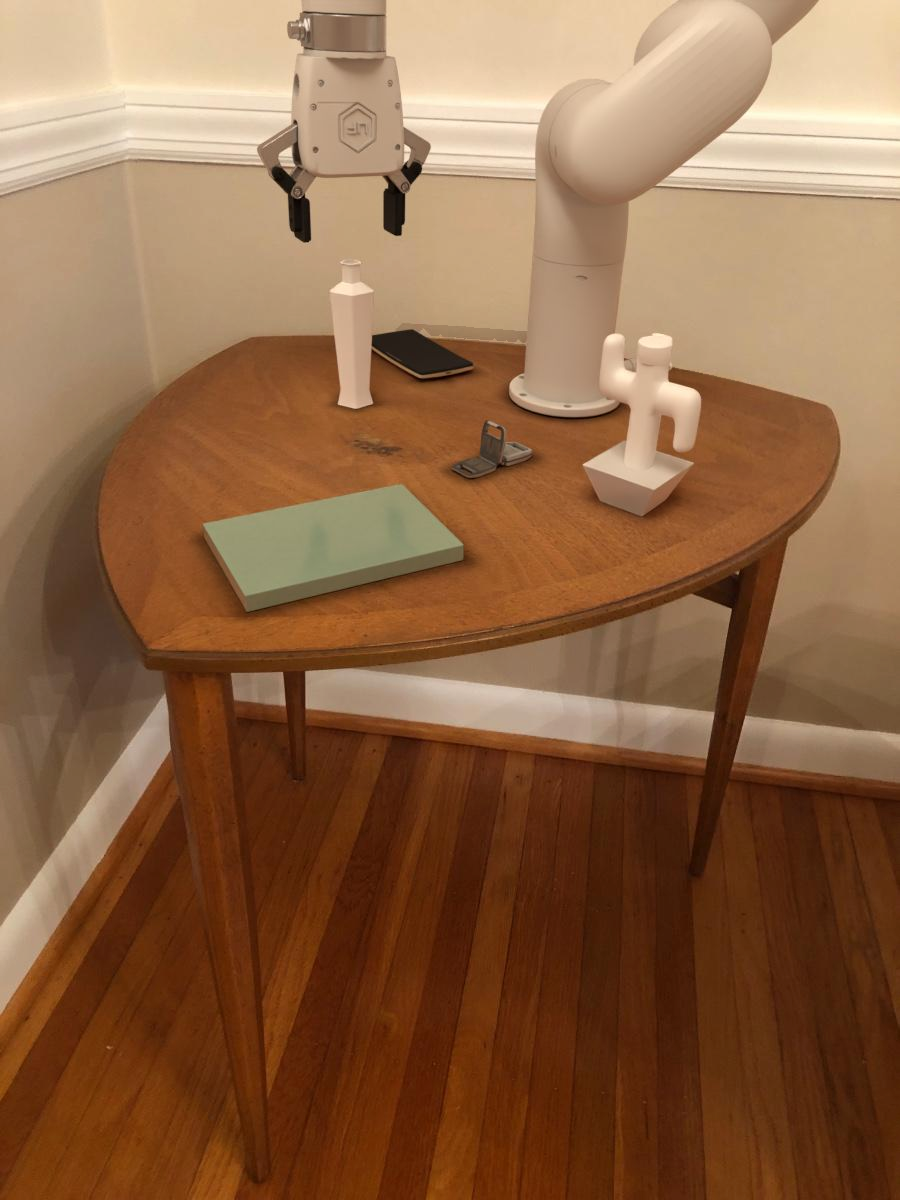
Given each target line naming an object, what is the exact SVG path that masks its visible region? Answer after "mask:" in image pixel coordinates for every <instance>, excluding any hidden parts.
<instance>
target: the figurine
mask: <svg viewBox="0 0 900 1200" xmlns="http://www.w3.org/2000/svg"><path fill="white" fill-rule="evenodd" d="M673 345H674V340H673V337H672V336H670V335H668V334H666V333H665V334H664V333H659V332H653V333H652V334H651V335H646V336H642V337H640V338H639V339H638V341H637V349H636V350H637V352H636V358H637V369H636V372H632V371H628V370H626V369H625V366H624V360H625V351H626V338H625V336H624V335H623V334H621V333H615V334H611V335H609V336H607V337H606V339H605V341H604V344H603V352H602V360H601V368H600V378H599V386H600V391H601V393H602V395H603V396H605V397H606V398H608V399H611V400H615V401H618V402H620V404H621V403H622V404H624V405H628V406H629V409H630V412H629V420H628V427H627V435H626V439H625V440H622V441H620V442H619V443H617V444H615V445H613V446H611V447H610V448H608V449H607V450H605V451H602V452H601V453H600V454H598V455H596V456H595V457H593V458H591V459H590V460H588V461H586V462H584V463H583V464H581V466H582V467H583V470H584V472H585V474H586V475H587V478H588V480H589V482H590V483H591V486H592V488H593V490H594V492H595V494H596V497H597V498H598V500H599V502H601V503H604V504H607V505H609V506H612V507H615V508H617V509H620V510H623V511H626V512H628V513H631V514H634V515H637V516H639V517H644V516H645V515H646V514H648V513H649V512H651V511H652V510H653V509H655V508H656V507H658V506H659V505H661V504H662V503H663V502H665V501H666V500H667V499H668V498H669V497H670V495H671V494H672V492H673V491H674V489H675V488H677V486H678V485H679V484H680V482H681V481H682V480H683V478H684V477H685V476H686V474H688V472H689V470H690V469H691V468H692V467H693V466H694V464H695V462H693V461H690V460H686V459H683V458H680V457H678V456H674V455H671V454H668V453H664V452H662V451H658V450H657V446H658V440H659V434H660V427H661V421H662V416H664V417H669V418H672V420H673V421H674V434H673V440H672V447H673V449H674V451H676V452H677V453H687V452H689V451H691V450H692V449H693V448H694V446H695V444H696V438H697V434H698V429H699V423H700V417H701V412H702V411H701V410H702V397H701V395H700V393H699V391H698V390H696V389H695V388H692V387H689V386H685V385H682V384H679V383H675V382H671V381H669V371H671V370H672V369H673V362H672V355H673V354H672V353H673V347H674V346H673Z"/></svg>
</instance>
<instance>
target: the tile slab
mask: <svg viewBox="0 0 900 1200" xmlns="http://www.w3.org/2000/svg"><path fill="white" fill-rule="evenodd" d="M202 531H203V537H204V540H205V543H206V544H207V545H208V547H209V550H210V551H211V552H212V554H213V556H214V557H215V560H216V561H217V563H218V565H219V566H220V568H221V570H222V572H223V573H224V575H225V577H226V579H227V580H228V582H229V584H230V586H231V587H232V589H233V591H234V592H235V594H236V596H237V598H238V599H239V602H240V603H241V604H242V606H243V608H244V610H245V612H246V613H250V612H253V611H259V610H262V609H266V608H271V607H275V606H279V605H283V604H287V603H291V602H296V601H299V600H305V599H308V598H312V597H316V596H317V597H318V596H320V595H325V594H328V593H333V592H337V591H341V590H346V589H350V588H353V587H358V586H362V585H366V584H370V583H374V582H379V581H383V580H387V579H391V578H394V577H399V576H403V575H408V574H411V573H416V572H421V571H424V570H429V569H433V568H437V567H441V566H444V565H445V566H446V565H449V564H453V563H458V562H462V561H464V555H465V554H464V553H465V552H464V551H465V544H464V543H463V542H462V541H461V540H460V539H459V538H458V537H457V536H456V535H455V534H454V533H453V532H452V531H451V530H450V529H449V528H448V527H446V525H445V524H444V523H443V522H442V521H441V520H440V519H439V518H437V516H435V515H434V514H433V512H431V510H430V509H429V508H428V507H426V505H424V504H423V503H422V502H421V501H420V500H419V499H418V497H416V496H415V495H414V494H413V493H412V492H411V491H410V490H409V489H408V488H407V487H406V486H405V485H404V484H403V483H399V484H394V485H388V486H383V487H378V488H373V489H369V490H364V491H359V492H353V493H349V494H345V495H344V494H343V495H338V496H333V497H328V498H323V499H319V500H313V501H309V502H304V503H298V504H293V505H289V506H284V507H278V508H273V509H268V510H263V511H258V512H252V513H249V514H243V515H238V516H233V517H227V518H223V519H218V520H213V521H208V522H204V523H202Z"/></svg>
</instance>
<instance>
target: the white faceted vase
mask: <svg viewBox="0 0 900 1200" xmlns="http://www.w3.org/2000/svg"><path fill="white" fill-rule="evenodd" d="M361 264H362V262H361V261H360V260H359V259H342V260H341V261H340V265H341V281H340V282H339V283H337V284H336V285H335V286H334V287H332V288H331V289H329V290H328V291H329V293H328V294H329V302H330V308H331V318H332V327H333V335H334V336H333V337H334V345H335V353H336V361H337V362H336V363H337V370H338V380H339V389H340V390H339V396H338V401H337V405H338V406H342V407H345V408H350V409H355V410H358V409H361V408H365V407H367V406H370V405H374V401H373V397H372V394H371V391H370V384H371V367H372V366H371V365H372V364H371V362H372V349H371V346H372V335H373V324H374V323H373V322H374V305H375V304H374V302H375V290H374V289H373V288H371V287H369V286H368V285H367V284H366V283H365V282H363V281H362V280H361V279H362V278H361Z"/></svg>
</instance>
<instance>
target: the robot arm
mask: <svg viewBox="0 0 900 1200" xmlns="http://www.w3.org/2000/svg"><path fill="white" fill-rule="evenodd" d="M819 1H820V0H676V1H675V2H674V3H672V4H671V5H670V6H668V7H667V8H665V10H663V11H662V12H660V13H659V14H658V15H657V16H656V17H655V18H654V19H653V20H652V21H651V22H650V24H649V25H648V26H647V27H646V29H645V30H644V32H643V33H642V35H641V36H640V38H639V40H638V41H637V42H638V43H637V45H636V48H635V52H634V56H633V66H631V67H630V68H629V69H628V70H627V71H625V72H624V73H623V74H622V75H621V76H620V77H618V78H617V79H615V81H613V82H610V81H607V80H604V79H599V78H583V79H578V80H575V81H573V82H570V83H569V84H567V85H565V86H563V87H562V88H561V89H559V90H558V91H557V92H556V93H555V94H553V96H552V97H551V98H550V100H548V102H547V104H546V106H545V107H544V109H543V111H542V114H541V116H540V119H539V122H538V126H537V130H536V137H535V149H534V155H535V156H534V164H535V166H534V168H535V172H534V173H535V209H534V210H535V213H534V228H533V229H534V231H533V245H532V246H533V247H532V258H531V259H532V260H531V273H530V286H529V287H530V288H529V298H528V299H529V300H528V302H529V303H528V314H527V327H526V328H527V329H526V330H527V331H526V343H525V356H524V357H525V358H524V369H523V371H524V372H523V373H521V374H519V375H516V376H515V377H514V378H512V379H511V381H510V383H509V385H508V386H509V387H508V395H509V399H511V400H512V402H514V403H515V404H516V405H517V406H519V407H521V408H523V409H525V410H527V411H530V412H533V413H536V414H541V415H544V416H545V415H546V416H550V417H558V418H590V417H596V416H600V415H604V414H607V413H609V412H611V411H613V410H615V409H616V408H618V406H619V405H620V404H621V402H618V401H615V400H611V399H608V398H606V397H605V396H603V395H602V393H601V391H600V386H599V378H600V368H601V360H602V352H603V344H604V341H605V339H606V337H607V336H609V335H611V334H616V327H617V318H618V311H619V304H620V294H621V287H622V279H623V269H624V262H625V257H626V249H627V240H628V230H629V229H628V228H629V210H630V209H629V205H630V204H629V203H630V201H633V200H635V199H637V198H639V197H641V196H642V195H644V194H645V193H647V192H649V191H650V190H652V189H653V188H655V187H656V186H657V185H659V184H660V183H661V182H663V181H664V180H665V179H666V178H667V177H669V176H670V175H671V174H673V173H675V172H676V171H677V170H678V169H679V168H680V167H682V166H683V165H684V164H686V163H687V162H688V161H690V160H691V159H692V158H693V157H695V156H696V155H697V154H699V153H700V152H701V151H702V150H704V149H705V148H707V146H709V145H710V144H711V143H712V142H714V141H715V140H716V139H717V138H719V137H720V136H721V135H722V134H723V133H725V132H726V131H727V130H729V129H730V128H731V127H733V126H734V125H735V124H736V123H737V122H738V121H739V120H740V119H741V118H742V117H743V116H744V115H745V114H747V112H748V111H749V109H750V108H751V107H752V106H753V105H754V103H755V102H756V101H757V99H758V97H759V96H760V94H761V93H762V92H763V89H764V87H765V85H766V82H767V80H768V79H769V74H770V71H771V67H772V62H773V45H775V43H777V42H778V41H779V40H780V39H781V38H783V36H785V35H786V34H788V32H790V30H792V29H793V28H794V27H795V26H796V25H797V24H799V23H800V22H801V21H802V20H803V19H805V17H806V16H807V15H808V14H809V13H810V12H811V11H812V10H813V9H814V8H815V6H816V5H817V4H818V2H819ZM300 2H301V11H302V12H299V17H298V19H295V21H292V20H290V21H287V25H286V32H287V37H288V39H290V40H291V39H292V40H297V41H299V43H300V46H301V47H303V48H302V51H303V53H297V54H296V58H295V65H294V71H293V72H294V73H293V82H292V90H291V91H292V93H291V110H290V111H291V113H290V114H291V115H290V124H289V125H288V126H287V127H285V128H283V129H282V130H280V131H279V132H277V133H275V134H274V135H272V136H271V137H269V138H268V139H266V140H265V141H263V142H262V143H259V145H258V146H257V148H256V152H257V155H258V156H259V158H260V160H261V162H262V164H263V165H264V167H265V169H266V171H267V174H268V176H269V177H270V178H271V179H272V180H273V181H274V182H275V184H277V185H278V186H279V187H280V189H282V191H283V192H284V193H285V194H287V206H288V207H287V208H288V209H287V210H288V225H289V230H290V231H291V232H292V233H293V235H294V237H295V238H296V239H298V241H300V242H302V243H304V244H305V243H310V242H311V241H312V225H311V222H312V221H311V220H312V219H311V202H310V199H309V198H307V197H306V193H307V191H308V190H309V188H310V187H311V185H312V184H313V182H314V181H315V179H316V178H320V179H321V178H322V179H339V178H342V179H343V178H365V177H366V178H367V177H382V178H383V179H384V181H385V182H386V184H387V188H384V190H383V193H382V194H383V196H382V197H383V198H382V200H383V201H382V202H383V203H382V204H383V205H382V208H383V209H382V212H383V213H382V214H383V215H382V217H383V218H382V222H383V224H382V225H383V230H384V231H385V232H387V233H389V234H391V235H393V236H395V237H401V236H402V234H403V226H404V225H405V223H406V194H407V193H409V192H410V191H411V186H412V185H413V183H414V182H416V180H417V179H418V177H419V176H420V175H421V174H422V172H423V166H424V164H425V162H426V161H427V159H428V155H429V153H430V151H431V150H432V149H431V148H432V145H431V143H430V142H429V141H428V140H426V139H424V138H422V137H421V136H420V135H417V134H416V133H415V132H413V131H411V130H410V129H408V128H406V127H404V114H403V102H402V101H403V100H402V93H401V85H400V78H399V72H398V71H399V70H398V66H397V61H396V57H395V56H390V55H387V18H388V17H387V0H301V1H300ZM405 146H407V147H408V148H409V149H410V153H409V156H408V157H409V158H408V160H407V161H405ZM290 147H291V156H292V162H293V164H294V167H293V168H292V170H291V171H290V173H288V172H287V171H286V170H285V169H284V167H283V166H282V164H281V161H280V159H279V155H280V154H281V153H282V152H284V151H285V150H287V149H289V148H290ZM624 366H625V369H626V370H628V371H632V372H636V369H637V357H633V358H627V359H624Z"/></svg>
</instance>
